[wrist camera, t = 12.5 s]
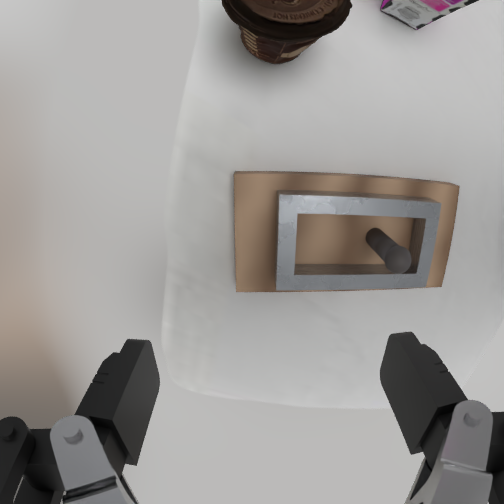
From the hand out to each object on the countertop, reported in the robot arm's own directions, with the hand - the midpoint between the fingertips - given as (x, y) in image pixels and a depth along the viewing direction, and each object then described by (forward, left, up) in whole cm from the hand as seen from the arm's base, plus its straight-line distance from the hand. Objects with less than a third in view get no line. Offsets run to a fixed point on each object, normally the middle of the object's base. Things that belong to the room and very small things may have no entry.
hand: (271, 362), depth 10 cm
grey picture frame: (-10, +3, -21) cm, 23 cm away
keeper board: (-10, +3, -23) cm, 25 cm away
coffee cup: (-2, -17, -23) cm, 29 cm away
